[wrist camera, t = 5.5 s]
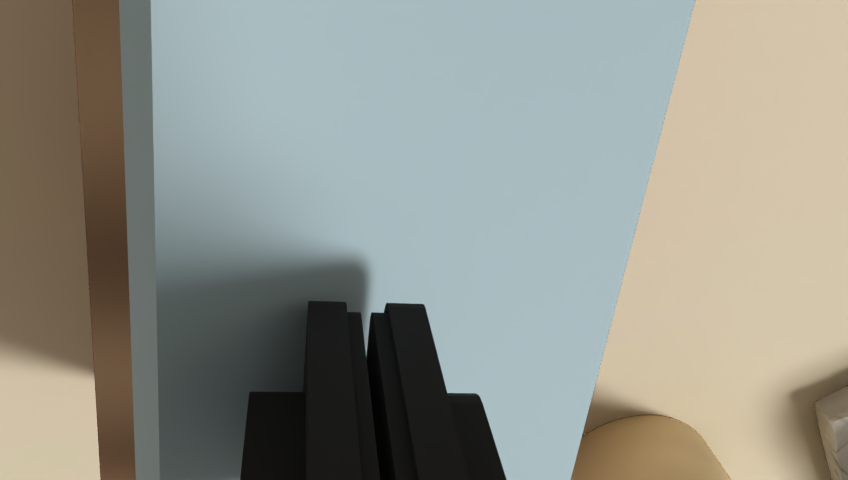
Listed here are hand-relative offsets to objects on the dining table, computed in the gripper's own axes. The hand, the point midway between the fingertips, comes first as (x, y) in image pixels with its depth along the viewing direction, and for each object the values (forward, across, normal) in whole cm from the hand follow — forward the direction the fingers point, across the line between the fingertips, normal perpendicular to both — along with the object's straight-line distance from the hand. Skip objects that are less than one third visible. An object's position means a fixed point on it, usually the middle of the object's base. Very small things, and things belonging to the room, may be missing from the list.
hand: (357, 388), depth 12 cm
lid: (+2, -1, 0) cm, 3 cm away
